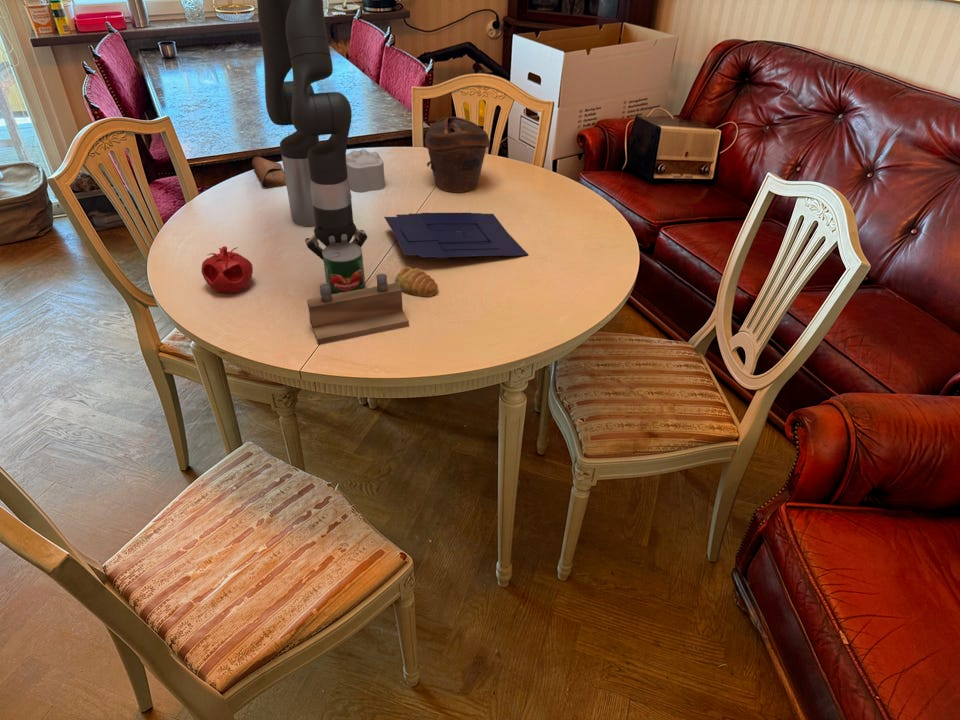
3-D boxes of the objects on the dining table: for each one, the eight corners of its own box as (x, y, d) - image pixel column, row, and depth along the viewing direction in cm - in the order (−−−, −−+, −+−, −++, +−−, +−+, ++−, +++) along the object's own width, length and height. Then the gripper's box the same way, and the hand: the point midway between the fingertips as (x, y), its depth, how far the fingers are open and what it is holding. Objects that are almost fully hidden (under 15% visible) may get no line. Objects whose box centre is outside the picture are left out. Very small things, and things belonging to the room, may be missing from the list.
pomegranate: (216, 273, 137) (206, 234, 131) (262, 275, 137) (253, 236, 131) (199, 297, 129) (187, 257, 124) (247, 299, 129) (237, 259, 123)
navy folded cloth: (381, 223, 156) (382, 210, 154) (491, 222, 167) (493, 210, 165) (406, 270, 138) (407, 255, 136) (526, 265, 149) (529, 251, 147)
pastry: (444, 289, 135) (444, 274, 133) (425, 303, 131) (425, 287, 128) (411, 276, 139) (410, 261, 137) (391, 289, 135) (390, 273, 132)
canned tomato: (352, 284, 135) (347, 238, 128) (374, 298, 131) (370, 252, 124) (321, 296, 131) (314, 250, 124) (342, 312, 126) (336, 264, 120)
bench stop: (310, 322, 123) (303, 282, 118) (397, 305, 129) (395, 267, 124) (318, 344, 118) (311, 304, 112) (409, 325, 123) (407, 286, 118)
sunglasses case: (294, 184, 176) (278, 166, 172) (274, 199, 176) (258, 182, 172) (280, 163, 189) (265, 145, 184) (262, 177, 189) (247, 160, 184)
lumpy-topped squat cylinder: (353, 194, 173) (350, 163, 168) (340, 177, 182) (337, 147, 177) (388, 188, 177) (386, 158, 172) (374, 172, 186) (372, 143, 181)
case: (447, 166, 191) (447, 106, 180) (501, 183, 183) (504, 121, 172) (409, 184, 180) (407, 120, 169) (464, 202, 171) (466, 137, 160)
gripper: (360, 188, 127) (366, 262, 138) (294, 196, 122) (306, 272, 133) (369, 203, 121) (375, 279, 132) (301, 212, 117) (313, 290, 128)
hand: (340, 275), depth 133 cm, fingers closed
